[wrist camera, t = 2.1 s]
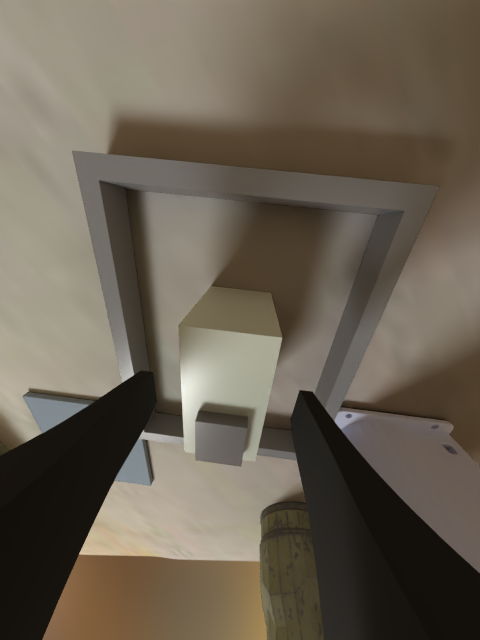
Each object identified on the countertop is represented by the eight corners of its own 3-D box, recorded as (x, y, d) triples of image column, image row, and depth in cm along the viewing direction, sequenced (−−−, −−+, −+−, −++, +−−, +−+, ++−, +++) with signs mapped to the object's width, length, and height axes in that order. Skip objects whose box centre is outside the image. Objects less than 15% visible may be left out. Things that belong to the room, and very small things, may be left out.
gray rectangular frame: (405, 194, 10) (439, 186, 8) (309, 440, 18) (315, 462, 16) (104, 165, 10) (72, 150, 8) (146, 418, 19) (134, 438, 17)
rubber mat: (139, 406, 18) (136, 411, 18) (152, 480, 24) (150, 485, 23) (28, 392, 18) (22, 395, 18) (67, 468, 24) (63, 473, 23)
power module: (270, 292, 13) (284, 346, 7) (255, 383, 16) (255, 474, 10) (211, 285, 13) (172, 332, 7) (208, 377, 16) (180, 463, 10)
